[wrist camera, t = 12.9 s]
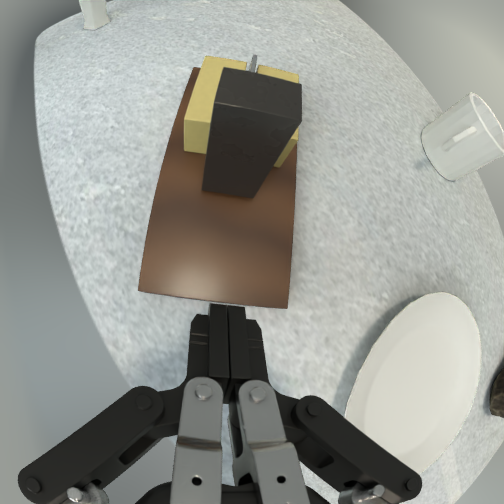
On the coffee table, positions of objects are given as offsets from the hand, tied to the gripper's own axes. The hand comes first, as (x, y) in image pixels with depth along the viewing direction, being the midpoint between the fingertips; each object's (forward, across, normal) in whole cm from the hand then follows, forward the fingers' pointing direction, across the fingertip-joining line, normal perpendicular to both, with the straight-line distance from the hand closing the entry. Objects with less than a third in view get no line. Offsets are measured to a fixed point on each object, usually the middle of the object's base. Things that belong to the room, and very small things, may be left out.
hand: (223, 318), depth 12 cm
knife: (+13, 0, -5) cm, 14 cm away
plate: (0, -21, +11) cm, 23 cm away
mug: (+20, -25, -9) cm, 33 cm away
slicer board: (+13, 0, -3) cm, 13 cm away
